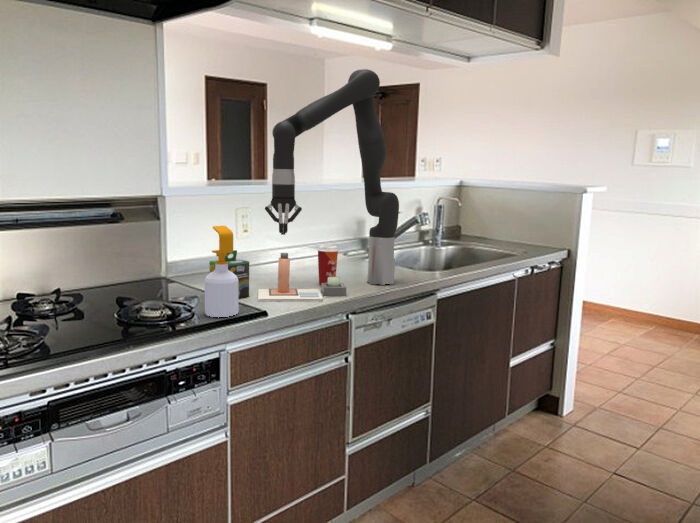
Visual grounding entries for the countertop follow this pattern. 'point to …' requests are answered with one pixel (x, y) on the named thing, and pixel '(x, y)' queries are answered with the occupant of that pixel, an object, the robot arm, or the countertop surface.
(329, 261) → the paper cup
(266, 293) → the board
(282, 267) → the orange bottle with cap
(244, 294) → the chalk box
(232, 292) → the soap bottle
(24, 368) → the countertop surface
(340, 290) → the frame
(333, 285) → the button
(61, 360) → the countertop surface
